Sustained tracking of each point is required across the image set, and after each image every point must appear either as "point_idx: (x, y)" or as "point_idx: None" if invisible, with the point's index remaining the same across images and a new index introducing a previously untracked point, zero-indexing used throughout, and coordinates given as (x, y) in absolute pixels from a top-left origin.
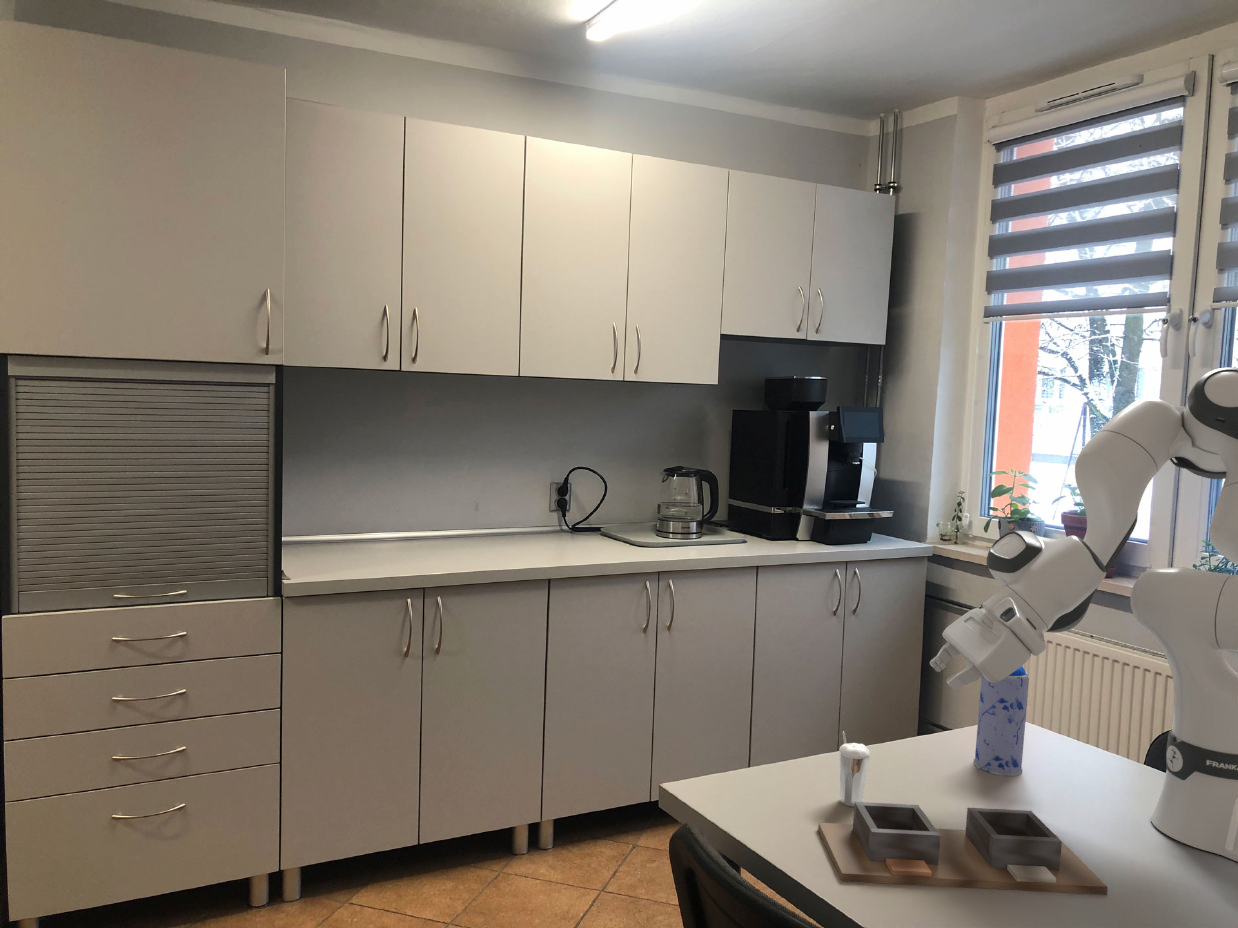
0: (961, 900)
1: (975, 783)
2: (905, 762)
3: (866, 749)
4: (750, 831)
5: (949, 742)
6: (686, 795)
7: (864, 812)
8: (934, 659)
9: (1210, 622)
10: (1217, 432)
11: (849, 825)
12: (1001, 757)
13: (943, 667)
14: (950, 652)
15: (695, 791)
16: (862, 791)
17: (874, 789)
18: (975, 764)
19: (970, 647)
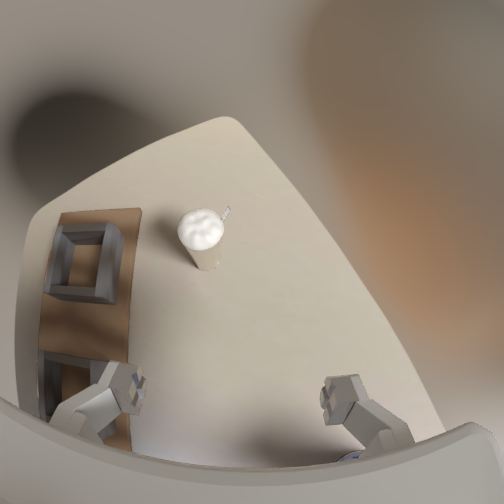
0: (31, 303)
1: (294, 442)
2: (351, 363)
3: (191, 240)
4: (143, 159)
5: (420, 426)
6: (212, 123)
7: (90, 227)
8: (352, 387)
9: None
10: None
11: (132, 236)
12: None
13: (324, 414)
14: (367, 447)
15: (221, 128)
16: (195, 262)
17: (250, 299)
18: (354, 452)
19: (120, 489)
